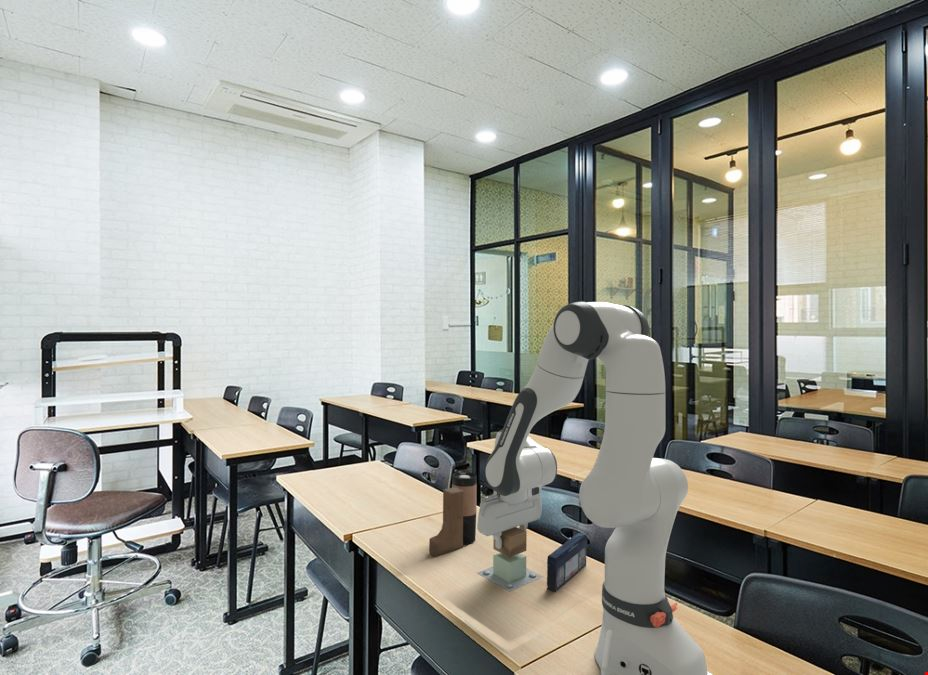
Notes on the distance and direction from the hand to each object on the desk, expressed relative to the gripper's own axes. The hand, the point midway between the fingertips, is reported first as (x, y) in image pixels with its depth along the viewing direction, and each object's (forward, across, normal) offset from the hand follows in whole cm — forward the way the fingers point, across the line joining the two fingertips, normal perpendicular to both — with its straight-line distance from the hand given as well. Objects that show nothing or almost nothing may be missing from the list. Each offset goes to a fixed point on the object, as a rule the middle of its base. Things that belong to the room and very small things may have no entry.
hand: (510, 543), depth 130 cm
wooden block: (+10, -3, +23) cm, 25 cm away
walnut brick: (+2, 0, 0) cm, 2 cm away
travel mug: (+10, +7, +27) cm, 30 cm away
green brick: (+8, 0, 0) cm, 8 cm away
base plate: (+10, 0, 0) cm, 10 cm away
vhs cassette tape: (+10, +11, -10) cm, 18 cm away
